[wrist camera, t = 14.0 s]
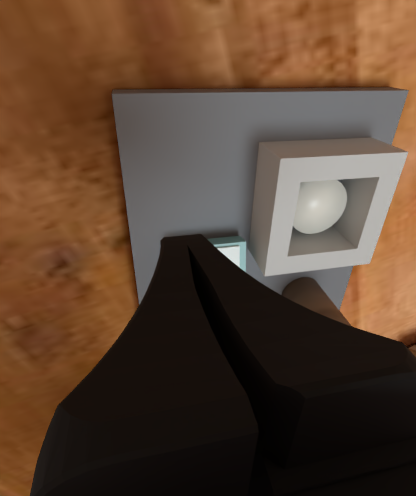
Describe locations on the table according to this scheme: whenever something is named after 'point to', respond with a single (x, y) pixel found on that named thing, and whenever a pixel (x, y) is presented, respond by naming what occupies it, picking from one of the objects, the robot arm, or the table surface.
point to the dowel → (312, 298)
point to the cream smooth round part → (319, 205)
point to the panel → (259, 174)
